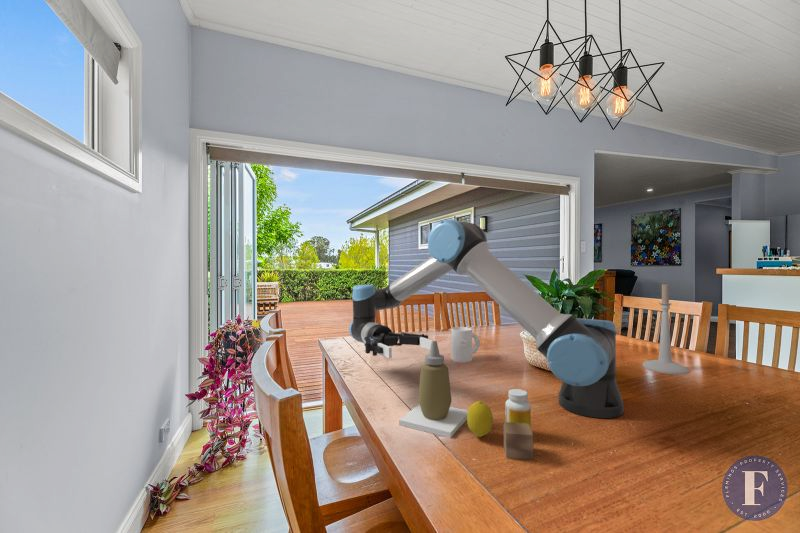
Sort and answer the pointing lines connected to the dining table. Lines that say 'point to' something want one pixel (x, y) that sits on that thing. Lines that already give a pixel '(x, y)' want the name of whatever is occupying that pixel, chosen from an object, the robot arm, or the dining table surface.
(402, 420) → the grey board
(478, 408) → the lemon
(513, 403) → the supplement bottle
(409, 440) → the dining table surface
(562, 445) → the dining table surface
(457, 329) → the mug
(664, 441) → the dining table surface
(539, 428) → the dining table surface
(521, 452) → the grey cube
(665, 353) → the candlestick
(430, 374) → the squeeze bottle
